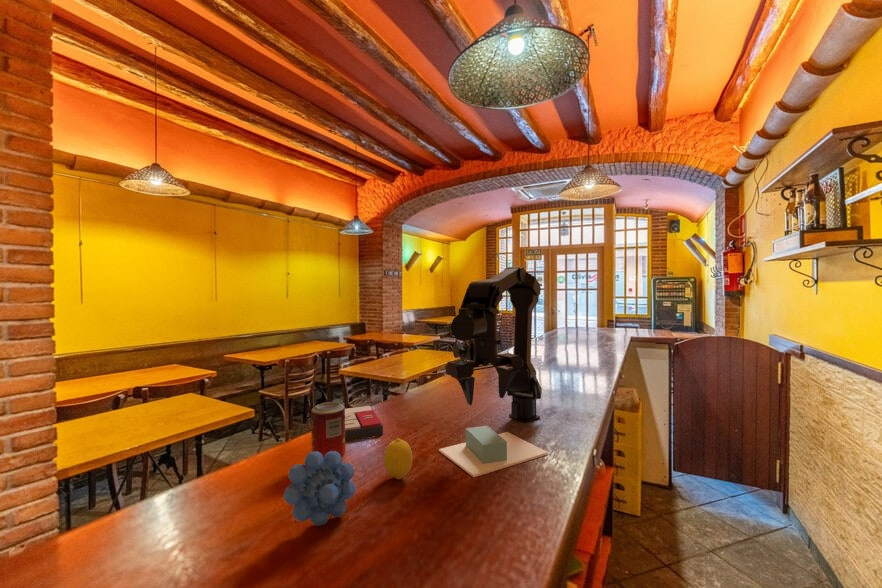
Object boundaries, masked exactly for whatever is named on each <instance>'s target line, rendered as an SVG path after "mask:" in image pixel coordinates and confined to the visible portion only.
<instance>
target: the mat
mask: <svg viewBox="0 0 882 588" xmlns="http://www.w3.org/2000/svg"><path fill="white" fill-rule="evenodd" d="M497 434H498V435H499V436H501V437H502V438H503V439H504V440H505V441H507V460H505V461H499V462H493V463H487V464H483V463H482V462H481V461H480V460H479V459H478V458H477V457H476V456H475V455H474V454H473V452H472V451H471V450H470V449H469V448H468V447H467V446H466V441H465V442H461V443H458V444H455V445H450V446H446V447H441V448H438V452H439V453H441V454H442V455H444V456H445V457H446V458H447V459H449V460H450V461H451V462H453V463H454V464H455V465H456V466H458V467H459V468H461V469H462V470H463V471H465V472H466V473H467V474H468V475H470V476H471V477H472V478H476V477H480V476H482V475H486V474H489V473H492V472H496V471H499V470H502V469H506V468H508V467H509V468H510V467H511V466H515V465H519V464H521V463H525V462H528V461H532V460H534V459H537V458H542V457H544V456H546V455H547V456H548V455H549V451H546V450H544V449H542V448H540V447H538V446H536V445H535V444H532V443H530V442H528V441H526V440H524V439H523V438H520V437H519V436H516V435H514V434H512V433H510V432H509V431H506V432H502V433H497Z"/></svg>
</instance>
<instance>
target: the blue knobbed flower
mask: <svg viewBox="0 0 882 588" xmlns="http://www.w3.org/2000/svg"><path fill="white" fill-rule="evenodd" d="M342 461H343V458H341V456H340V454H339V453H338V452H336V451H329V452H328V453H326V454H325V456H324V458H323V456H322V454H321V453H319V452H316V451H313V452H312V451H310V452H308V453H307V455H306V456H305V457H304V464H295V465H293V466H291V468H289V471H288V474H287V475H288V476H287V477H288V479H289V482H290V483H291V484H289V485H288V486H286V488H285V489H284V491H283V500H284V502H285V503H286V504H288V505H289V506H293V508H292V513H291V514H292V516H293V518H294V519H295V520H296V521H298V522H306V521H308V520H309V519H310V521H311V523H312V524H313V525H315V526H317V527H321V526H323V525H325V524H327V523H328V521H329V519H330V516H332V517H335V518H336V517H341V516H343V515H344V514H345V512H346V510H347V503H346V500H350V499H351V498H354V497H355V494H356V490H357V487H356V486H355V484H354V482H353V481H351V480H352V478H353V477H354V475H355V469H354V467H353V465H352V464H351V463H349V462H342Z"/></svg>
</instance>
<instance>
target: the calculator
mask: <svg viewBox="0 0 882 588" xmlns="http://www.w3.org/2000/svg"><path fill="white" fill-rule="evenodd" d="M379 435H382V436H384V424H383V423H382V422H381V420H380V418H379V417H378V416H377V414H376V412H375V410H374V409H373V408H372V406H370V405H365V406H357V407H350V408H345V442H350V441H355V440H362V439H363V438H364V439H369V438H368V437H370V438H374V437H373V436H376V437H380V436H379Z"/></svg>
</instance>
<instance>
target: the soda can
mask: <svg viewBox="0 0 882 588" xmlns="http://www.w3.org/2000/svg"><path fill="white" fill-rule="evenodd" d="M345 409H346V407H345V406H344V404H342V403H340V402H338V401H337V402H336V401H326V402H322V403H318V404H316V405H315V406H313V407H312V409H311V411H310V420H311V421H310V422H311V423H310V424H311V427H310V428H311V432H310V433H311V452H313V451H316V452H319V453H321V454H322V456H323V458H324V456H325V454H326V453H328V452H329V451H336V452H338V453H339V454H340V456H341V458H342V459H343V458H344V456H345V455H346V441H345Z"/></svg>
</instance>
